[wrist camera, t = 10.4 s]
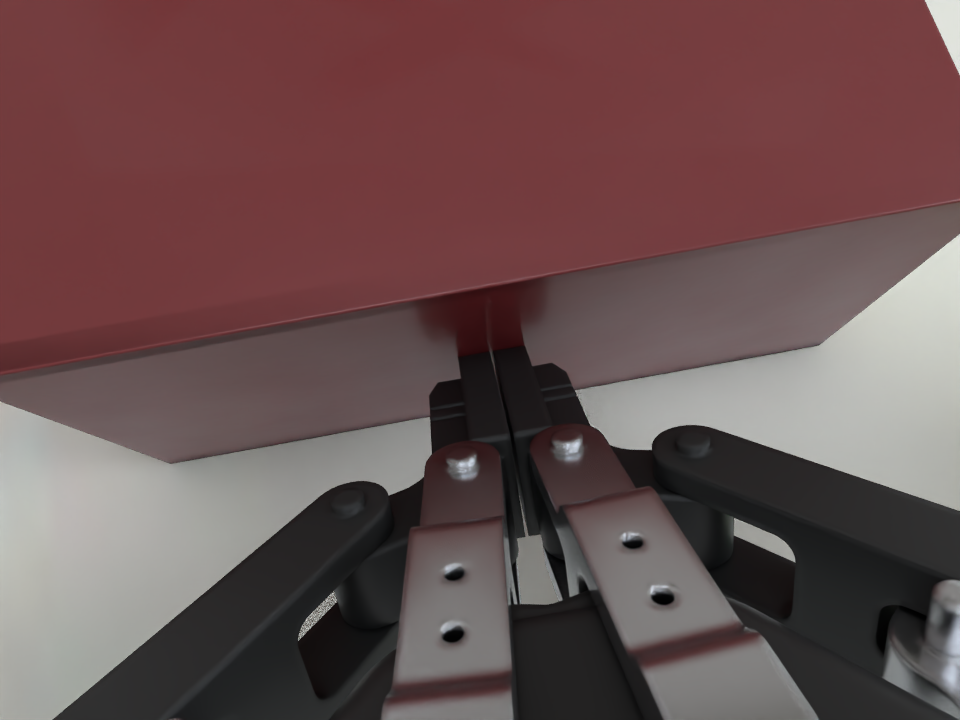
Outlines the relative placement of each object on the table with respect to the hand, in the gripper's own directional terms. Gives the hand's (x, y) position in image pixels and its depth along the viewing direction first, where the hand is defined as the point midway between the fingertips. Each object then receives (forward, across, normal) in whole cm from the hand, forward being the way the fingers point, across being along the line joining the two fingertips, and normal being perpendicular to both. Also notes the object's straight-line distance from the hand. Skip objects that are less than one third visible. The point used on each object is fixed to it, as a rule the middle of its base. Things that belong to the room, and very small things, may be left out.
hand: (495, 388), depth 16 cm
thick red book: (+8, 0, -2) cm, 8 cm away
